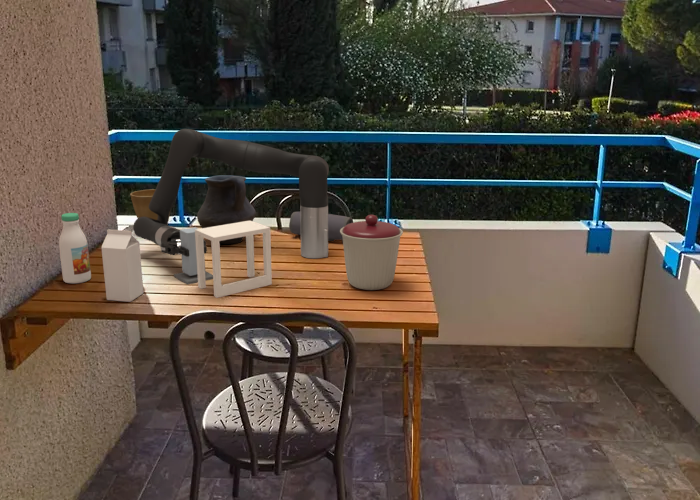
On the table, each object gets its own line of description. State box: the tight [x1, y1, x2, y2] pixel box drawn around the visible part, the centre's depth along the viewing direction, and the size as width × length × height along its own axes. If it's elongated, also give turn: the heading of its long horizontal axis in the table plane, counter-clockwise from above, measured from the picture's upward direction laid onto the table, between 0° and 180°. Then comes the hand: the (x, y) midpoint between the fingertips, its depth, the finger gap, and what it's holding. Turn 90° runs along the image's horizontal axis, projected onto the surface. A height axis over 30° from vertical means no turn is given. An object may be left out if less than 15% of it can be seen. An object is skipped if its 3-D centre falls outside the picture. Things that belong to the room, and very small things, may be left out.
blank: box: [179, 226, 206, 276], centre depth 188 cm, size 5×5×13 cm
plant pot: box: [130, 188, 171, 226], centre depth 237 cm, size 15×15×16 cm
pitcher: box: [196, 174, 257, 245], centre depth 227 cm, size 21×22×25 cm
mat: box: [173, 270, 213, 286], centre depth 191 cm, size 9×9×1 cm
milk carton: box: [100, 229, 144, 302], centre depth 172 cm, size 7×7×19 cm
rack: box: [195, 220, 273, 299], centre depth 182 cm, size 11×18×17 cm, turn 130°
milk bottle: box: [58, 212, 92, 284], centre depth 185 cm, size 8×8×20 cm
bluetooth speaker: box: [288, 211, 354, 242], centre depth 233 cm, size 23×9×10 cm, turn 67°
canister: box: [340, 214, 404, 291], centre depth 183 cm, size 18×18×21 cm
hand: (196, 251), depth 186 cm, fingers closed on blank, 5 cm apart
